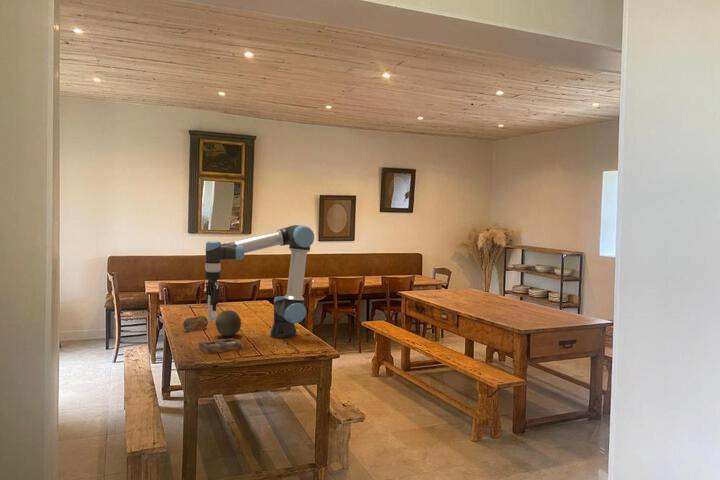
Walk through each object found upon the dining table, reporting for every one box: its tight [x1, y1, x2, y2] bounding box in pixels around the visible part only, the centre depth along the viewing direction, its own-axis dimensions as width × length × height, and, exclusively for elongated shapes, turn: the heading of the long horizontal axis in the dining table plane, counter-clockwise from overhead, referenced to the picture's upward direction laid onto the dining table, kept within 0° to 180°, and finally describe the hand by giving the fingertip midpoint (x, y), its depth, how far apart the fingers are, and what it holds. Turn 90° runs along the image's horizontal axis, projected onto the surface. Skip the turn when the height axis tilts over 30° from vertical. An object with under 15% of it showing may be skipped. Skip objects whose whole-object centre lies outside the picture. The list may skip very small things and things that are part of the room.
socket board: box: [198, 337, 243, 355], centre depth 271 cm, size 18×13×3 cm
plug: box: [206, 295, 218, 322], centre depth 270 cm, size 3×3×13 cm
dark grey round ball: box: [214, 309, 242, 337], centre depth 297 cm, size 14×14×15 cm
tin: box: [182, 315, 209, 333], centre depth 311 cm, size 15×3×8 cm, turn 137°
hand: (211, 316), depth 270 cm, fingers closed on plug, 3 cm apart
